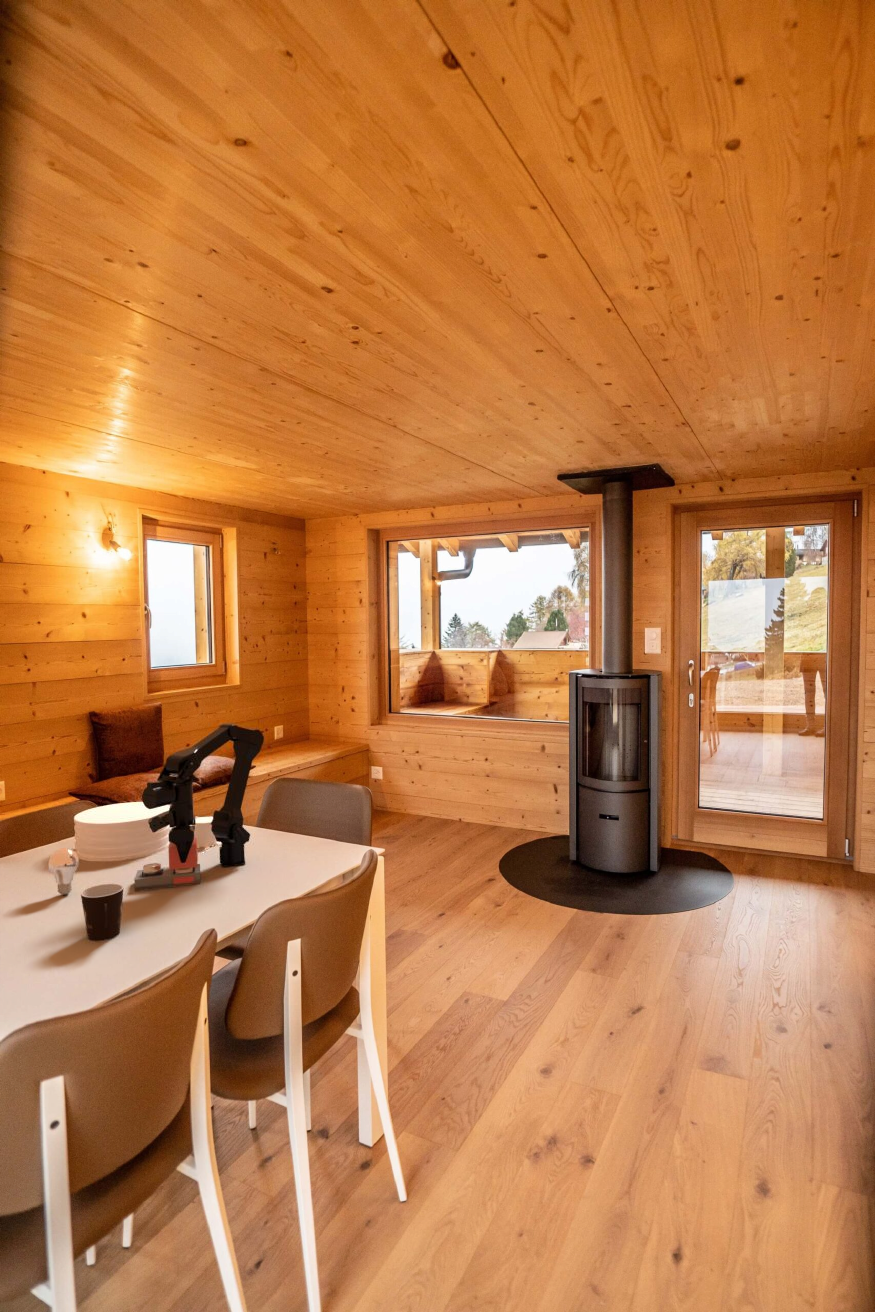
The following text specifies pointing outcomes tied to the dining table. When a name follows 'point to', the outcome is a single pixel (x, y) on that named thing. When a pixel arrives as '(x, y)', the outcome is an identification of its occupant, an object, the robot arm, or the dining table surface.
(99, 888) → the coffee mug
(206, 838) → the tree stump
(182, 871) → the cream switch
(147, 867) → the chrome round knob
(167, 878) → the switch box
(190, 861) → the cap
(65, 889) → the light bulb
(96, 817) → the plate stack
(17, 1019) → the dining table surface
